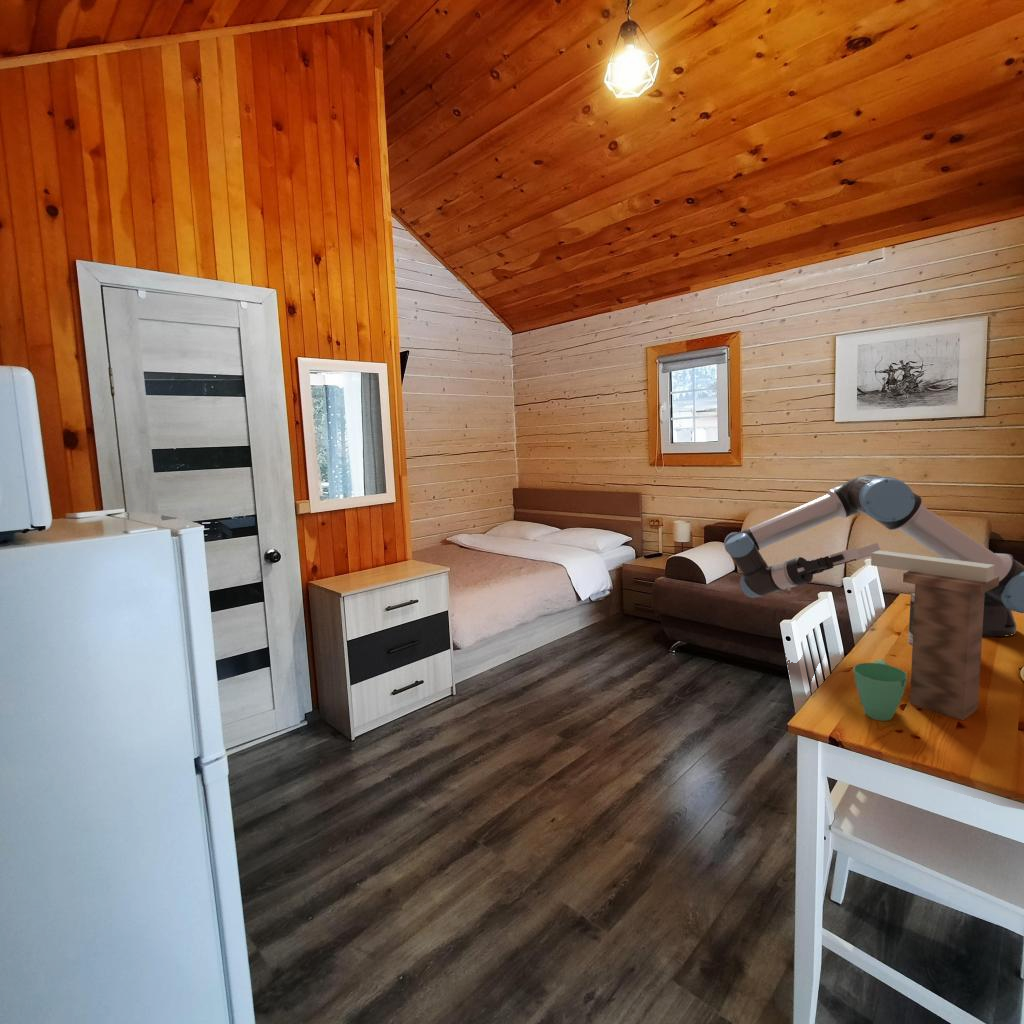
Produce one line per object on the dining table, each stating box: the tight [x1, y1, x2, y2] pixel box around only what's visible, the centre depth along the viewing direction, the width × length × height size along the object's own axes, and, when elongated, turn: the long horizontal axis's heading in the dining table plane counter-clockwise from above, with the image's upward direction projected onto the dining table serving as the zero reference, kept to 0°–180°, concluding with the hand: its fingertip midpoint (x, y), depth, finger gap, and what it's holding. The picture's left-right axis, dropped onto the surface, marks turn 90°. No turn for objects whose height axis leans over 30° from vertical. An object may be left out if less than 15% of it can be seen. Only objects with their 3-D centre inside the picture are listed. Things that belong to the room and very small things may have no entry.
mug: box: [853, 659, 909, 722], centre depth 127 cm, size 15×10×10 cm
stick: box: [870, 550, 995, 582], centre depth 128 cm, size 22×4×3 cm, turn 34°
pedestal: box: [902, 571, 999, 721], centre depth 126 cm, size 14×10×30 cm
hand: (868, 550), depth 149 cm, fingers open, 13 cm apart
